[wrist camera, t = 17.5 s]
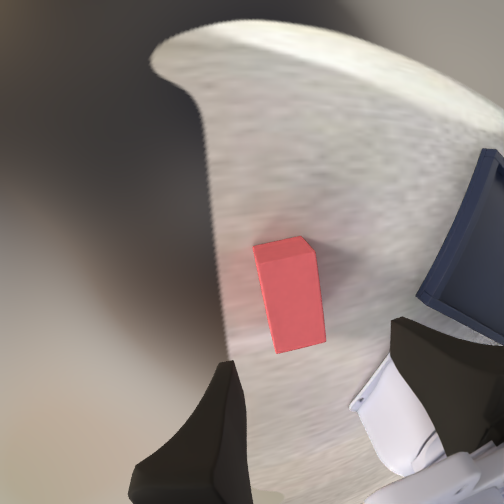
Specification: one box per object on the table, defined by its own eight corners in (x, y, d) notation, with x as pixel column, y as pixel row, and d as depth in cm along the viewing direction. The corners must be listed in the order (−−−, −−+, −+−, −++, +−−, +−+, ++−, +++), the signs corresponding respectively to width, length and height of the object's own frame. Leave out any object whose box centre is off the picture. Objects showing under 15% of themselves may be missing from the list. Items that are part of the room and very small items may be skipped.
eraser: (313, 315, 22) (326, 342, 18) (269, 326, 22) (276, 354, 18) (301, 235, 20) (315, 250, 16) (252, 245, 20) (257, 263, 16)
